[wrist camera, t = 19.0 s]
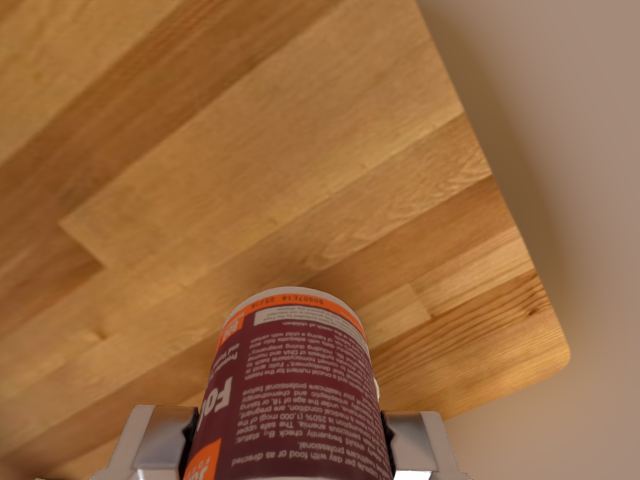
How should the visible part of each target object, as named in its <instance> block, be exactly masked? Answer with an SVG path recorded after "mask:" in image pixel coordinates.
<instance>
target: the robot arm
mask: <svg viewBox="0 0 640 480" xmlns="http://www.w3.org/2000/svg"><path fill="white" fill-rule="evenodd" d="M380 414H381V419H382V425H383V429H384V435H385V440H386V444H387V449H388V455H389V460H390V466H391V471H392V475H393V480H473V479H472V478H471V477H470V476H469V475H468V474H467V473H461V472H460V469H459V466H458V463H457V461H456V458H455V455H454V452H453V449H452V446H451V443H450V441H449V438H448V435H447V432H446V429H445V426H444V424H443V421H442V418H441V415H440V414H439V413H438V412H437V411H417V410H382V411H381V412H380ZM198 417H199V412H198V407H185V406H162V405H136V406H135V407H134V408H133V410H132V411H131V413H130V415H129V418H128V420H127V422H126V424H125V427H124V429H123V431H122V434H121V436H120V438H119V441H118V443H117V445H116V447H115V450H114V452H113V454H112V457H111V459H110V461H109V463H108V466H107V468H106V469H99V470H98V471H97V472H96V473H95V474H93V475H92V476H91V477H90V478H89V479H88V480H183V478H184V474H185V469H186V465H187V460H188V456H189V452H190V448H191V445H192V441H193V437H194V433H195V429H196V425H197V421H198Z"/></svg>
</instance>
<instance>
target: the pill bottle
mask: <svg viewBox="0 0 640 480" xmlns="http://www.w3.org/2000/svg"><path fill="white" fill-rule="evenodd" d="M183 480H393V475H392V471H391V466H390V460H389V455H388V449H387V444H386V440H385V435H384V429H383V425H382V419H381V414H380V409H379V404H378V399H377V393H376V388H375V383H374V377H373V371H372V367H371V361H370V356H369V349H368V346H367V341H366V337H365V332H364V329H363V326H362V324H361V322H360V320H359V318H358V317H357V315H356V314H355V313H354V312H353V310H352V309H351V308H350V307H349V306H347V305H346V304H345V303H344V302H343V301H341V300H340V299H338V298H337V297H334V296H332V295H330V294H328V293H326V292H322V291H318V290H316V289H310V288H305V287H295V286H293V287H287V286H285V287H278V288H272V289H268V290H265V291H263V292H260V293H258V294H255V295H253V296H252V297H250V298H248V299H246V300H245V301H243V302H242V303H241V304H239V305H238V306H237V307H236V308H235V309H234V310H233V311H232V312H231V314H230V315H229V317H228V318H227V320H226V321H225V323H224V326H223V328H222V331H221V334H220V339H219V342H218V346H217V350H216V354H215V357H214V362H213V364H212V367H211V371H210V375H209V379H208V384H207V388H206V392H205V395H204V399H203V403H202V406H201V410H200V414H199V417H198V422H197V425H196V429H195V433H194V437H193V441H192V445H191V448H190V452H189V456H188V460H187V465H186V469H185V474H184V478H183Z"/></svg>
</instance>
